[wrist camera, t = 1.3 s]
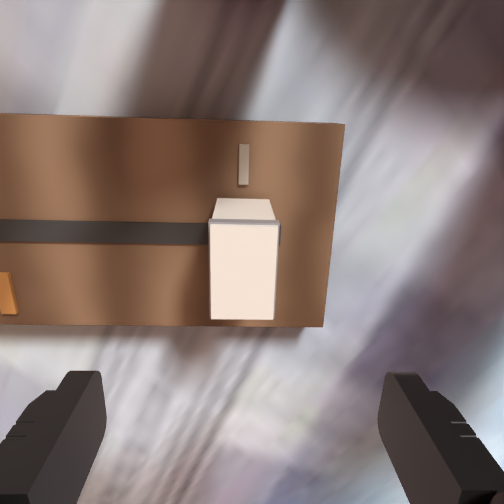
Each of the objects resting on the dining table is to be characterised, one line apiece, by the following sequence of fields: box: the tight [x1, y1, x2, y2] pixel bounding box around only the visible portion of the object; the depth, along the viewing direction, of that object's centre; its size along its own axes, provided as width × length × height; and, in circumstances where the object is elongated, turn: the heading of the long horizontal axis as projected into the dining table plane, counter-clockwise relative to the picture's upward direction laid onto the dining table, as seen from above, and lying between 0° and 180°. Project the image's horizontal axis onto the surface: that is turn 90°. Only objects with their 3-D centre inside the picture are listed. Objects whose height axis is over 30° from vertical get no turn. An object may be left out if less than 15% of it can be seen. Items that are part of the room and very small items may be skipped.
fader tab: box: [208, 198, 280, 320], centre depth 21 cm, size 3×5×6 cm, turn 179°
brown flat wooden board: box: [0, 113, 345, 327], centre depth 26 cm, size 28×14×3 cm, turn 88°
